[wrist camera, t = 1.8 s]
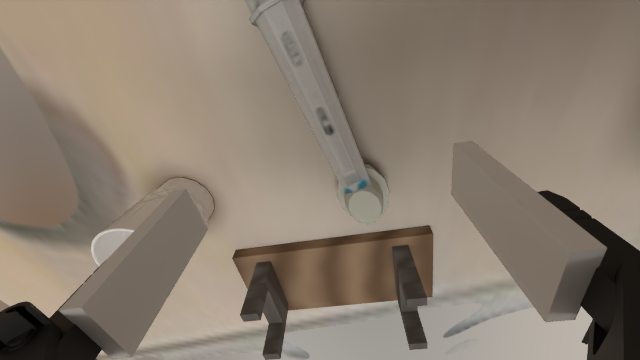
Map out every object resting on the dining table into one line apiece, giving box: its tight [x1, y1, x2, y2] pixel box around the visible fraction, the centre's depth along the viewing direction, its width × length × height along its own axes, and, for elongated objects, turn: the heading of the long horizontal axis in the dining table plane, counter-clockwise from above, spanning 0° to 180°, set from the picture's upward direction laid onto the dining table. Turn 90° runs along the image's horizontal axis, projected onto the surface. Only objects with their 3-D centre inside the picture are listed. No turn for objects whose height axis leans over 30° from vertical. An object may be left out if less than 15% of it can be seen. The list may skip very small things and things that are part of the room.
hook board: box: [232, 226, 433, 360], centre depth 34 cm, size 26×12×9 cm, turn 101°
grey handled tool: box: [245, 0, 390, 224], centre depth 25 cm, size 5×7×25 cm
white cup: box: [91, 178, 214, 266], centre depth 29 cm, size 8×8×10 cm
